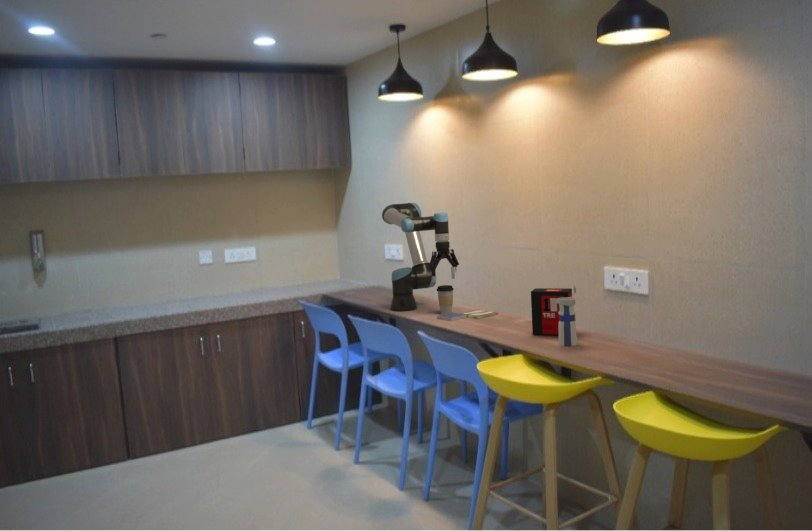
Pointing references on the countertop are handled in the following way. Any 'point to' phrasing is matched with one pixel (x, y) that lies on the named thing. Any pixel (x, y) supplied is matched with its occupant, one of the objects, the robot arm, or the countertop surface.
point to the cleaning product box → (546, 310)
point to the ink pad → (451, 316)
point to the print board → (479, 314)
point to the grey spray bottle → (567, 321)
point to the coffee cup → (445, 298)
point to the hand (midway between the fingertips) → (444, 280)
